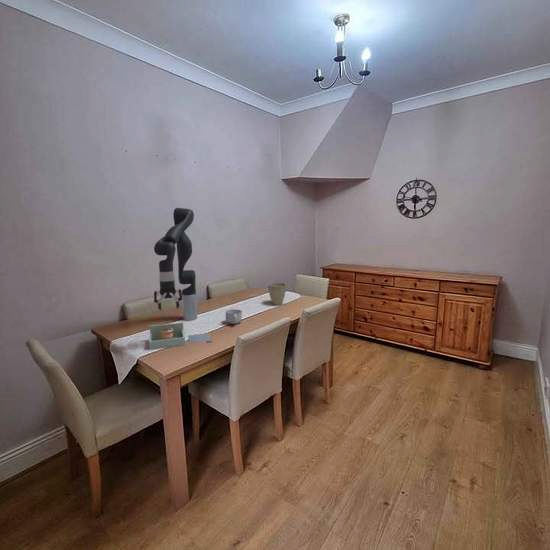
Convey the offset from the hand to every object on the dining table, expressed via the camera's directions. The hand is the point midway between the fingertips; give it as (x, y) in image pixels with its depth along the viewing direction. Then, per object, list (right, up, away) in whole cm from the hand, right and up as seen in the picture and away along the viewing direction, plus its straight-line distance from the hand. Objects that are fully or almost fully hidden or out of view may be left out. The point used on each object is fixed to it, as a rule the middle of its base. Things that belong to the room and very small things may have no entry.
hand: (168, 308), depth 165 cm
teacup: (+31, -13, +33) cm, 47 cm away
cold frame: (-1, -19, +1) cm, 19 cm away
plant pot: (+59, -5, +78) cm, 98 cm away
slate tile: (+15, -18, +7) cm, 24 cm away
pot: (-1, -18, +1) cm, 18 cm away
